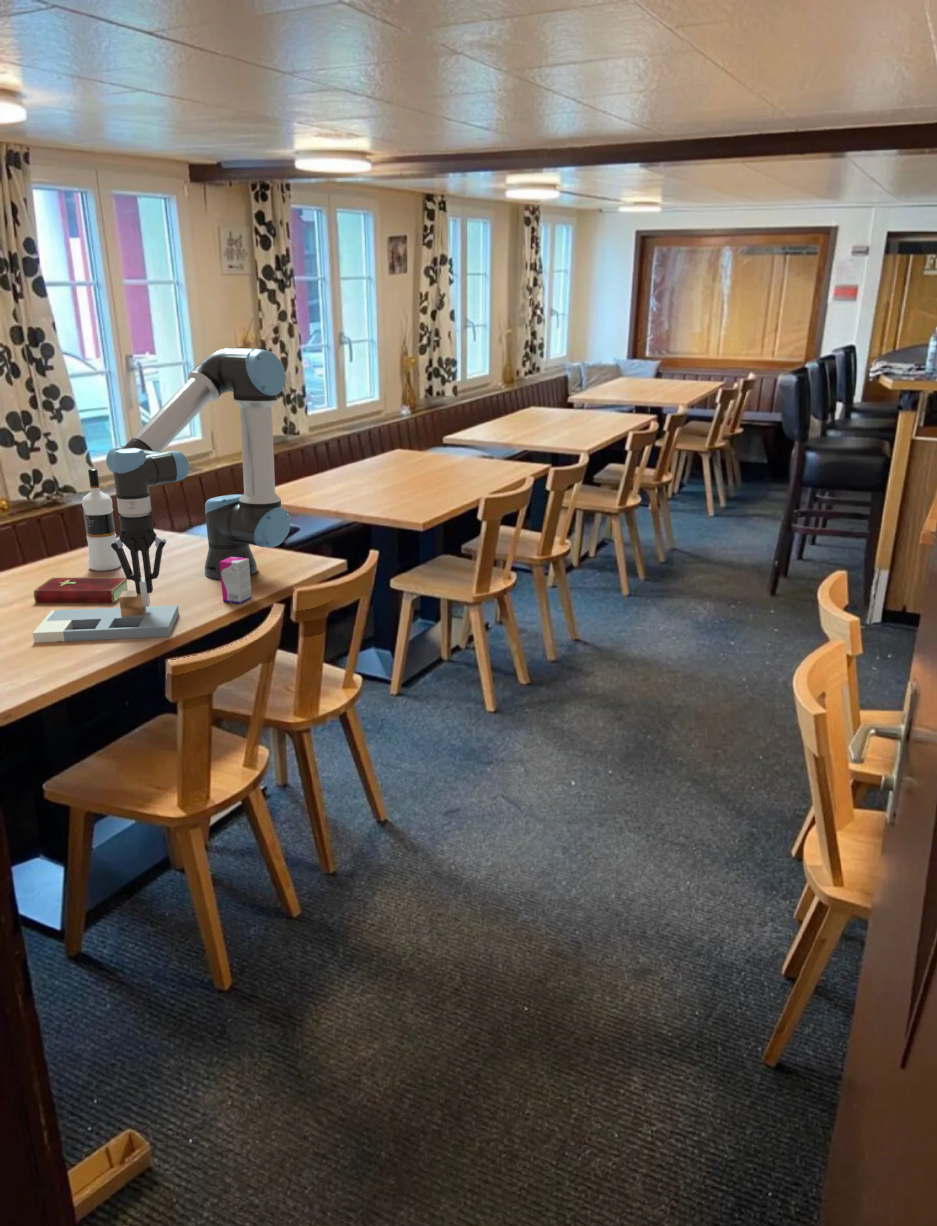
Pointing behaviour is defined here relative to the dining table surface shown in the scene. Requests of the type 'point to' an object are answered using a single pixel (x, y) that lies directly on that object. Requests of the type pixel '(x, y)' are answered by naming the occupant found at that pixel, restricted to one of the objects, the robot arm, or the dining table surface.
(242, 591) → the supplement box
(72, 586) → the hardcover book
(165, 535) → the dining table surface
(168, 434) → the robot arm
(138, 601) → the block
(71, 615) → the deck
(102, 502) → the vodka
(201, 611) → the dining table surface
